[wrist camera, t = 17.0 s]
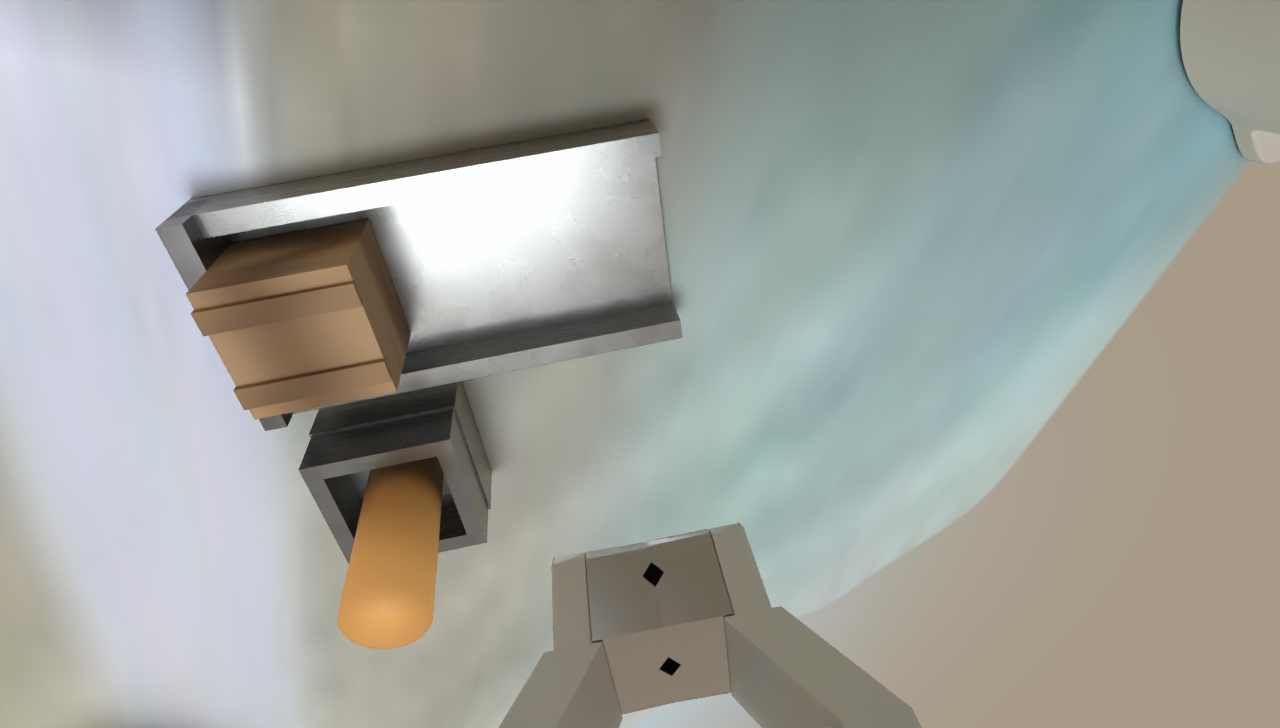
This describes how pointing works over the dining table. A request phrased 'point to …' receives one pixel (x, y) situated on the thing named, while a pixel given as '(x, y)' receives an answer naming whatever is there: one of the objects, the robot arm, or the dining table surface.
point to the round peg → (394, 557)
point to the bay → (483, 248)
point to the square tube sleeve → (400, 459)
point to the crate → (304, 319)
